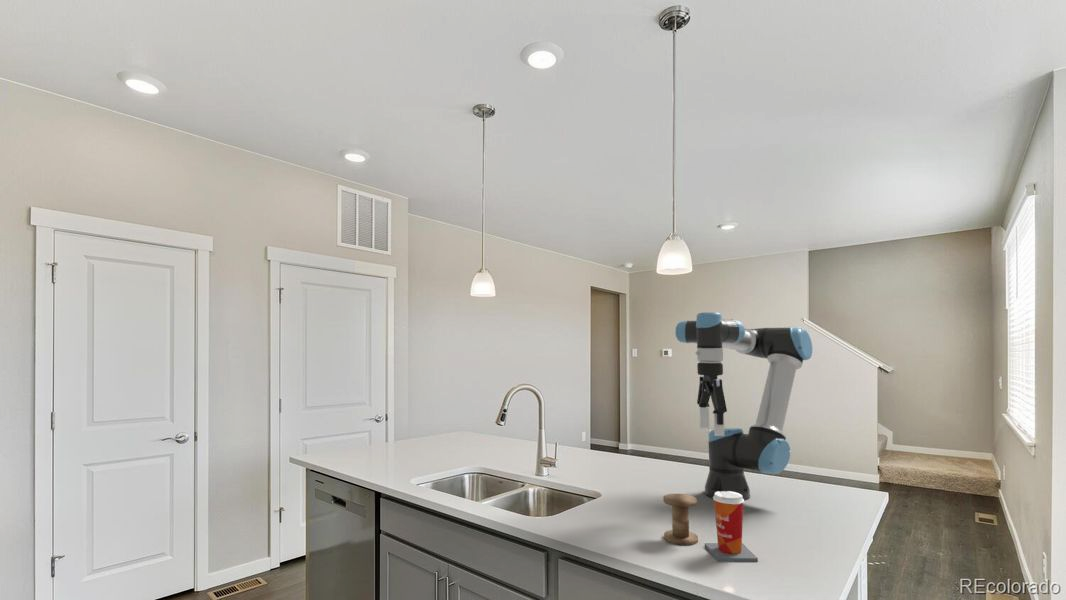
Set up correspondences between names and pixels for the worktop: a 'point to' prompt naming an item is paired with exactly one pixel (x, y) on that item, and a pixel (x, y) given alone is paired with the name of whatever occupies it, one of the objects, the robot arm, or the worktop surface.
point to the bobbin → (680, 519)
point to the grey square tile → (724, 557)
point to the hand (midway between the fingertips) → (711, 431)
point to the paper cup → (729, 521)
